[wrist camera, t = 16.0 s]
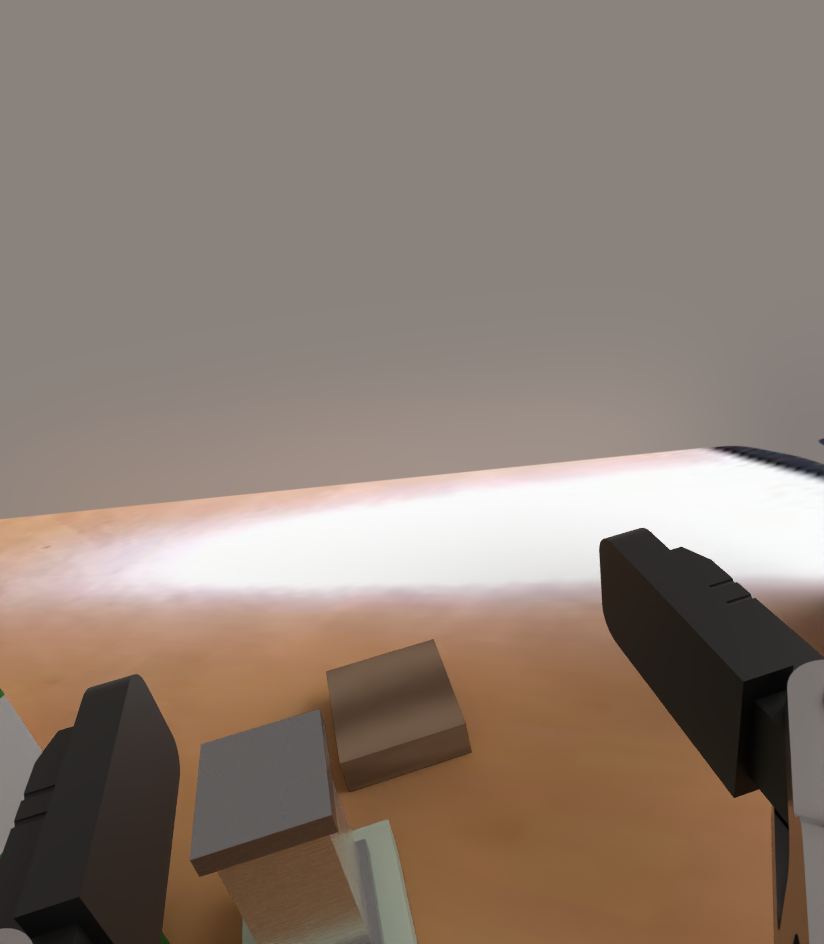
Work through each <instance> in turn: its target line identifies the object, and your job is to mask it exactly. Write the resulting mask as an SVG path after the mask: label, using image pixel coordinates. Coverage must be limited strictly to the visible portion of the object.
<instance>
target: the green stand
mask: <svg viewBox="0 0 824 944" xmlns="http://www.w3.org/2000/svg"><path fill="white" fill-rule="evenodd" d="M351 832H352V834H353V837H354V840H355V842H356V841H359V840H362V839H365V840H366V842H367V845H368V848H369V851H370V857H371V863H372V870H373V876H374V882H375V888H376V894H377V900H378V907H379V913H380V919H381V925H382V931H383V937H384V944H417V939H416V934H415V929H414V925H413V920H412V915H411V911H410V906H409V901H408V897H407V892H406V887H405V882H404V878H403V873H402V868H401V864H400V859H399V854H398V850H397V846H396V843H395V840H394V836H393V833H392V830H391V827H390V824H389V821H388V819H386V820H383V821H380V822H377V823H374V824H371V825H368V826H365V827H362V828H359V829H356V830H353V831H351ZM242 944H257V943H256V941H255V939H254V938H253V936H252V934H251V932H250V930H249V929H248V927H247V925H246V923H245V921H244V919H243V918H242Z"/></svg>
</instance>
